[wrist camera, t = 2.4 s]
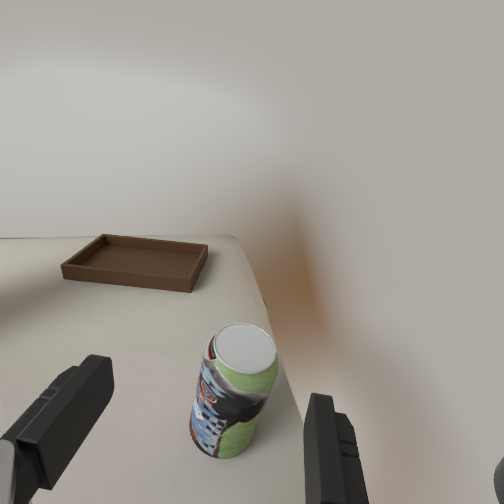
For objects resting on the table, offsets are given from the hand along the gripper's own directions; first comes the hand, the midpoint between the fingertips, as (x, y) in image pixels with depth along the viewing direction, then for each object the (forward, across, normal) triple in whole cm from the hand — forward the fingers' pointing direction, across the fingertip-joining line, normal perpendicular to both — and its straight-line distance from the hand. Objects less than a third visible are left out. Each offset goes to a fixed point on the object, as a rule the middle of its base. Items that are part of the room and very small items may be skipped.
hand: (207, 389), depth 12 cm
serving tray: (+39, +22, +17) cm, 47 cm away
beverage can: (+11, 0, +18) cm, 21 cm away
